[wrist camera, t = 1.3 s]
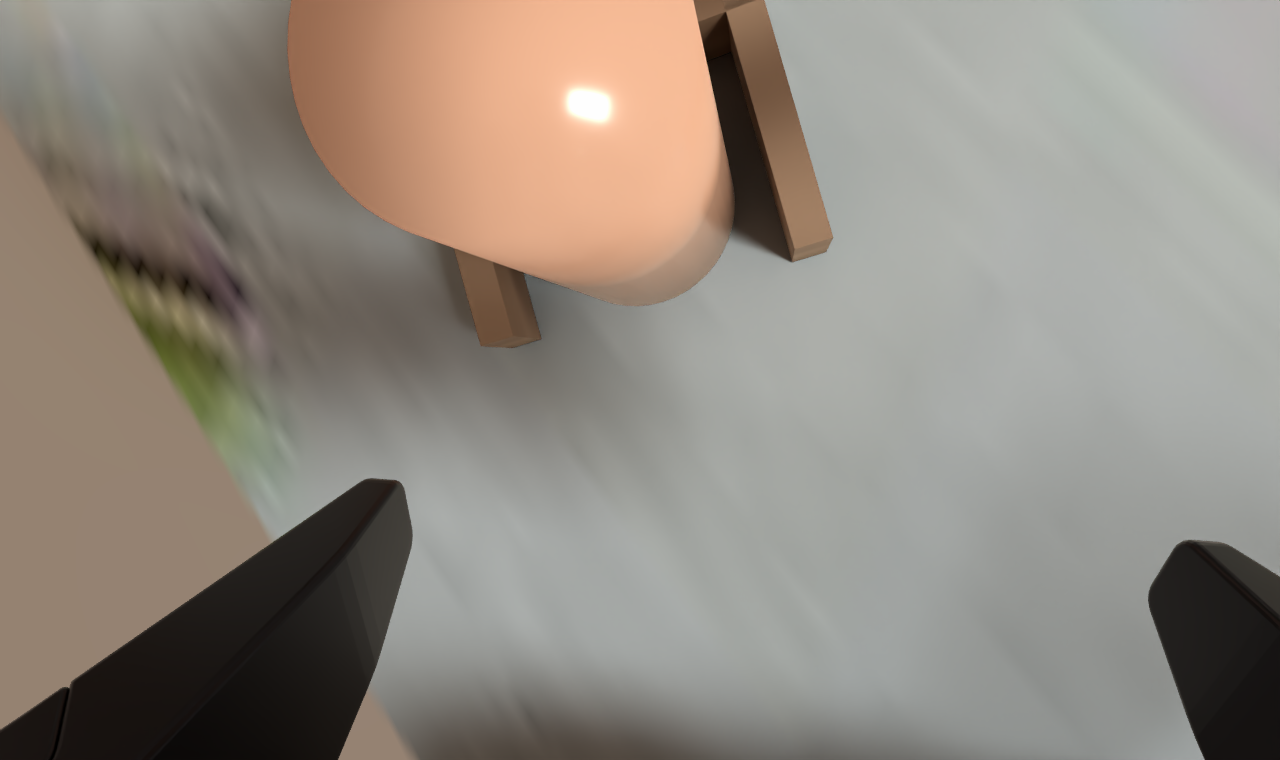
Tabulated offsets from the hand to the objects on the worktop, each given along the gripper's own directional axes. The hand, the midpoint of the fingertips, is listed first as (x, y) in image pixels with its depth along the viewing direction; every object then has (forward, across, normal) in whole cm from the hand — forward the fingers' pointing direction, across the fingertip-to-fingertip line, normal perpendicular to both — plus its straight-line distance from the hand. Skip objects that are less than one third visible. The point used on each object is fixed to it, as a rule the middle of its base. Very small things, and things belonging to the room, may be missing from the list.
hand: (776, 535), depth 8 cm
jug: (+16, +3, +1) cm, 16 cm away
